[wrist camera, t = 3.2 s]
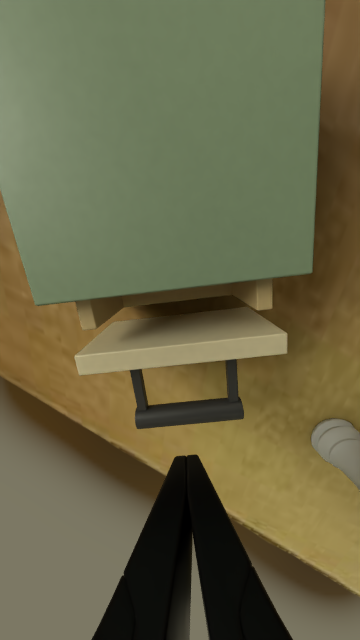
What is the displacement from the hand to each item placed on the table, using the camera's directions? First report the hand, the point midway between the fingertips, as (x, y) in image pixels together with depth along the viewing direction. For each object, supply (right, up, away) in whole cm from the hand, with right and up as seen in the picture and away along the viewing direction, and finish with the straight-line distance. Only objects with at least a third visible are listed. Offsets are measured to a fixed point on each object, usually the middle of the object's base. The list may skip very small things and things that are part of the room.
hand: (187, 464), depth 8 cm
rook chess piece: (+15, -6, +14) cm, 22 cm away
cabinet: (-2, +16, +8) cm, 18 cm away
